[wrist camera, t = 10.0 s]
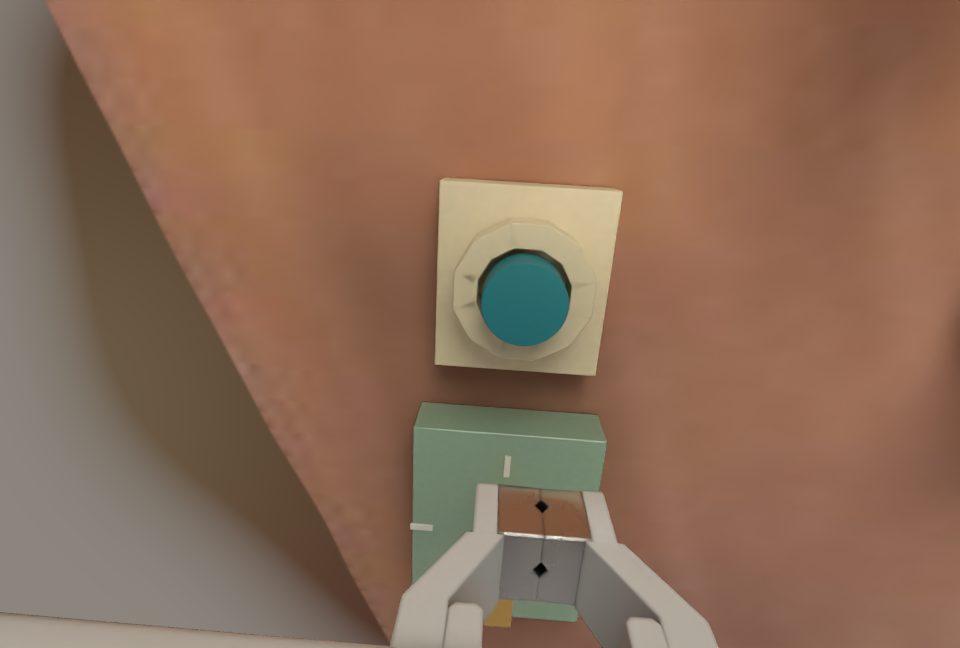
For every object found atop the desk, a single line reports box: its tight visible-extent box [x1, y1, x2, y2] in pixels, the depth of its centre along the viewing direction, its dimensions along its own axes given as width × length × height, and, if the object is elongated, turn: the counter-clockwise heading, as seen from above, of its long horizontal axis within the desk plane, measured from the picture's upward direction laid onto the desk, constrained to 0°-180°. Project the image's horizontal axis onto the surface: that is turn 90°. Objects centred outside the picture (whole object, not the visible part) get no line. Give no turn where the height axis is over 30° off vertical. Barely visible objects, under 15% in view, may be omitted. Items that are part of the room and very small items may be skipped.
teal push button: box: [481, 253, 569, 346], centre depth 23 cm, size 4×4×2 cm
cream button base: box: [435, 178, 623, 376], centre depth 26 cm, size 10×9×4 cm
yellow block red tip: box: [483, 599, 513, 628], centre depth 28 cm, size 7×2×4 cm, turn 177°
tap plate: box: [410, 402, 607, 622], centre depth 32 cm, size 11×14×3 cm
